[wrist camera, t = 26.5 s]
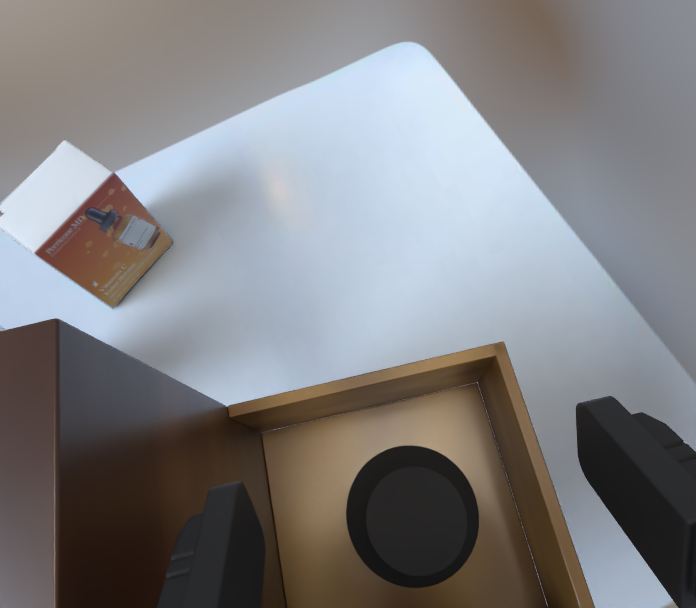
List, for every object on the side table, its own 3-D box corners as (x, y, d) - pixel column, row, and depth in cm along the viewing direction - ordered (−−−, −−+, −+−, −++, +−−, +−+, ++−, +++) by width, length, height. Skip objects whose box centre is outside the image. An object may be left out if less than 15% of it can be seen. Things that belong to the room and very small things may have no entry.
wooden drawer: (465, 397, 38) (608, 185, 12) (524, 593, 33) (971, 941, 7) (264, 444, 38) (-23, 334, 12) (293, 646, 34) (-74, 1166, 7)
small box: (114, 311, 44) (31, 257, 34) (71, 277, 45) (-20, 217, 35) (176, 241, 45) (115, 171, 36) (133, 211, 47) (63, 136, 37)
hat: (456, 433, 29) (475, 411, 21) (495, 569, 26) (533, 599, 19) (335, 461, 29) (313, 449, 21) (362, 599, 26) (348, 640, 19)
